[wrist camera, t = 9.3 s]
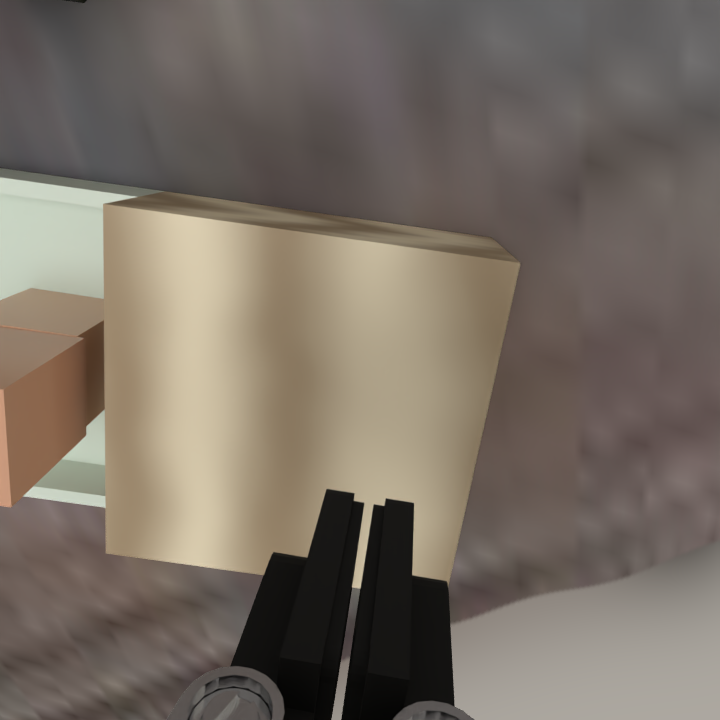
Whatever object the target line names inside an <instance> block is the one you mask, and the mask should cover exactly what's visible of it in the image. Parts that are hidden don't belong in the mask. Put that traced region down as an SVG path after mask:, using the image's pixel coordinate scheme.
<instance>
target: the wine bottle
mask: <svg viewBox="0 0 720 720" xmlns="http://www.w3.org/2000/svg"><path fill="white" fill-rule="evenodd" d="M66 1H74V2H82V3H84V2H85V1H86V0H66Z"/></svg>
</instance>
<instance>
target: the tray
mask: <svg viewBox="0 0 720 720" xmlns="http://www.w3.org/2000/svg"><path fill="white" fill-rule="evenodd" d="M160 192H165V191H159V190H152V189H145V188H138V187H131V186H124V185H117V184H110V183H103V182H96V181H89V180H82V179H75V178H67V177H60V176H53V175H46V174H39V173H32V172H25V171H18V170H11V169H4V168H0V300H2V299H4V298H7V297H9V296H12V295H14V294H17V293H19V292H22V291H24V290H27V289H29V288H35V289H41V290H48V291H55V292H61V293H68V294H75V295H81V296H88V297H95V298H101V299H104V259H103V204H105V203H110V202H115V201H120V200H125V199H130V198H135V197H140V196H145V195H150V194H155V193H160ZM24 496H26V497H33V498H40V499H47V500H55V501H62V502H69V503H76V504H83V505H91V506H98V507H105V508H106V503H105V410H103V411H102V412H101V413H100V414H99V415H98V416H97V417H96V418H95V419H94V420H93V421H92V422H91V423H90V424H88V425H87V426H86V436H85V437H84V438H83V439H82V440H81V441H80V442H79V443H78V444H77V445H76V446H75V447H74V448H73V449H72V450H71V451H70V452H68V453H67V454H66V455H65V456H64V457H63V458H62V459H61V460H60V461H59V462H58V463H57V464H56V465H55V466H54V467H53V468H52V469H51V470H50V471H49V472H48V473H47V474H46V475H45V476H43V477H42V478H41V479H40V480H39V481H38V482H37V483H36V484H35V485H34V486H33V487H32V488H31V489H30V490H29V491H28V492H27V493H26V494H25V495H24Z"/></svg>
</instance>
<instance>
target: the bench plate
mask: <svg viewBox="0 0 720 720" xmlns="http://www.w3.org/2000/svg"><path fill="white" fill-rule="evenodd" d="M103 259H104V381H105V503H106V553H108V554H115V555H122V556H129V557H137V558H144V559H151V560H158V561H166V562H173V563H180V564H187V565H194V566H202V567H209V568H216V569H223V570H230V571H238V572H245V573H252V574H259V575H264V573H265V571H266V568H267V565H268V562H269V560H270V557H271V555H272V554H273V552H277V553H283V554H289V555H295V556H301V557H308V553H309V550H310V546H311V542H312V539H313V535H314V532H315V528H316V524H317V521H318V517H319V514H320V510H321V507H322V503H323V499H324V496H325V492H326V489H332V490H338V491H344V492H350V493H355V495H354V501H357V502H364V510H363V517H362V523H361V530H360V537H359V544H358V550H357V557H356V564H355V571H354V577H353V584H352V587H353V588H360V589H361V582H362V576H363V569H364V563H365V556H366V550H367V543H368V537H369V530H370V524H371V518H372V511H373V505H374V504H376V505H382V506H384V505H385V500H386V498H387V499H393V500H400V501H406V502H412V503H414V531H413V567H412V575H414V576H420V577H426V578H432V579H438V580H443V581H447V583H448V585H449V581H450V576H451V572H452V567H453V563H454V558H455V554H456V549H457V545H458V541H459V536H460V532H461V527H462V523H463V518H464V514H465V509H466V505H467V500H468V496H469V492H470V487H471V483H472V478H473V474H474V469H475V465H476V460H477V456H478V451H479V447H480V442H481V438H482V434H483V429H484V425H485V420H486V416H487V411H488V407H489V402H490V398H491V393H492V389H493V385H494V380H495V376H496V371H497V367H498V362H499V358H500V353H501V349H502V344H503V340H504V335H505V331H506V327H507V322H508V318H509V313H510V309H511V304H512V300H513V295H514V291H515V286H516V282H517V277H518V273H519V269H520V264H521V263H520V262H519V261H518V260H517V259H516V258H514V257H513V256H512V255H511V254H510V253H509V252H507V251H506V250H505V249H504V248H503V247H502V246H501V245H499V244H498V243H497V242H496V241H495V240H494V239H492V238H491V237H484V236H477V235H470V234H463V233H455V232H448V231H441V230H434V229H427V228H420V227H413V226H406V225H399V224H392V223H385V222H378V221H371V220H364V219H357V218H350V217H343V216H336V215H328V214H321V213H314V212H307V211H300V210H293V209H286V208H279V207H272V206H265V205H258V204H251V203H244V202H237V201H230V200H223V199H216V198H209V197H202V196H194V195H187V194H180V193H173V192H166V191H165V192H160V193H155V194H150V195H145V196H140V197H135V198H130V199H125V200H120V201H115V202H110V203H105V204H103Z"/></svg>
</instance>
